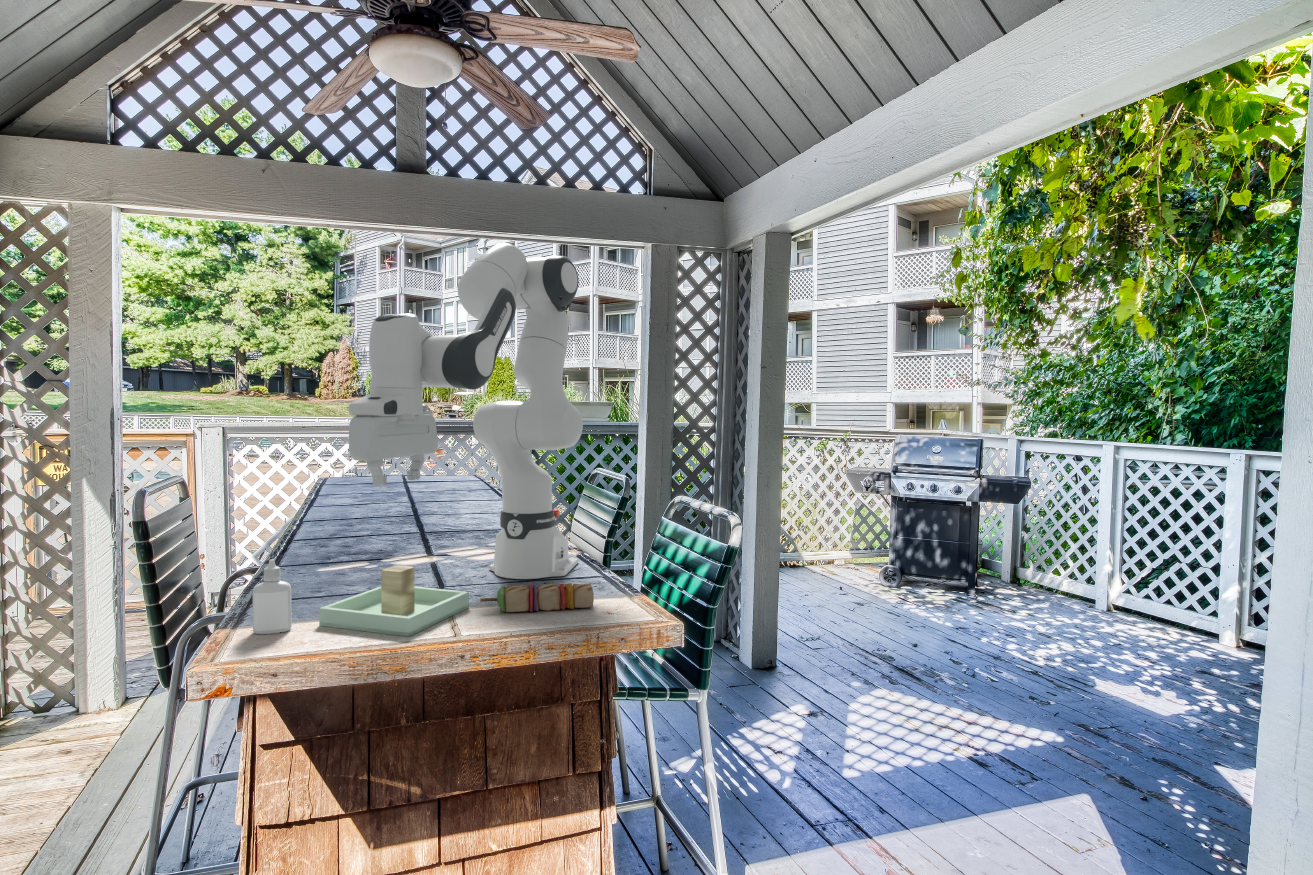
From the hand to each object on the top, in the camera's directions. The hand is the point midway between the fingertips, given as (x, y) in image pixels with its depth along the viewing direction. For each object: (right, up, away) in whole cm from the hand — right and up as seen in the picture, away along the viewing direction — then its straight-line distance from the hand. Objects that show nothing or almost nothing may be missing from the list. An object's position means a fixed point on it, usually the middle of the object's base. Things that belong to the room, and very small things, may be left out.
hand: (397, 482), depth 128 cm
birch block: (0, -23, +1) cm, 24 cm away
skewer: (+24, -25, +7) cm, 35 cm away
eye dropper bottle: (-18, -24, -8) cm, 31 cm away
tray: (0, -24, +1) cm, 24 cm away
